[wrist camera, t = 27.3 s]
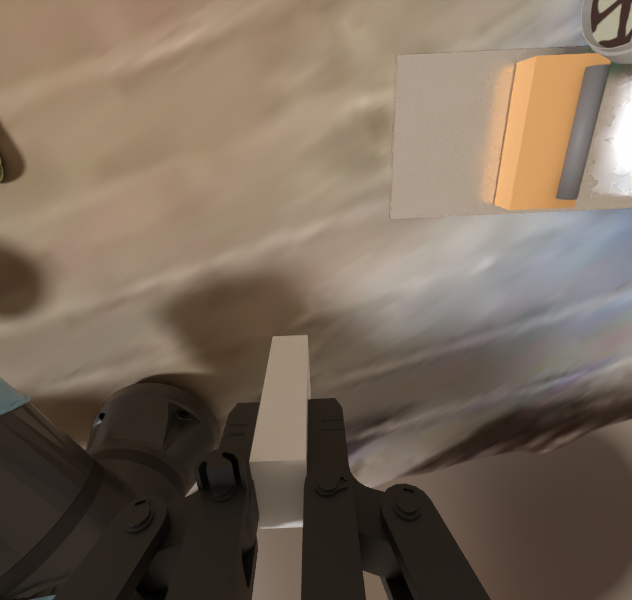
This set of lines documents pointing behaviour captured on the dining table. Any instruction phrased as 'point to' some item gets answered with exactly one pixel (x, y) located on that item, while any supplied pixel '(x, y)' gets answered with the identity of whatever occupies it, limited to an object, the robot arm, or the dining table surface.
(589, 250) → the dining table surface
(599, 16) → the food container
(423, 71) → the vise
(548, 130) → the block
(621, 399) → the dining table surface
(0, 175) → the washcloth
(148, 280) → the dining table surface
